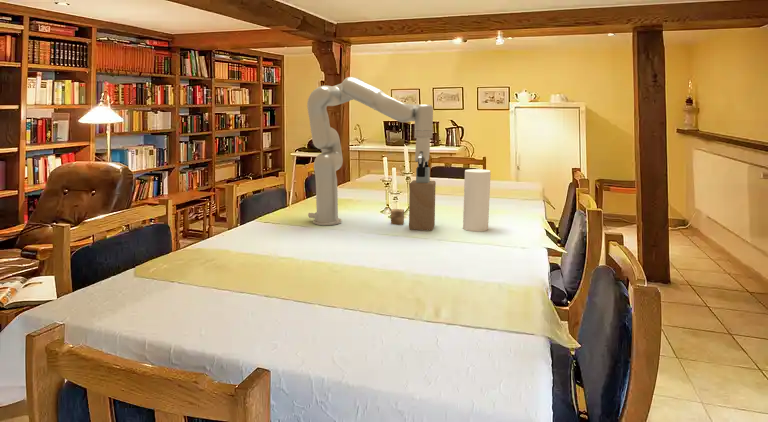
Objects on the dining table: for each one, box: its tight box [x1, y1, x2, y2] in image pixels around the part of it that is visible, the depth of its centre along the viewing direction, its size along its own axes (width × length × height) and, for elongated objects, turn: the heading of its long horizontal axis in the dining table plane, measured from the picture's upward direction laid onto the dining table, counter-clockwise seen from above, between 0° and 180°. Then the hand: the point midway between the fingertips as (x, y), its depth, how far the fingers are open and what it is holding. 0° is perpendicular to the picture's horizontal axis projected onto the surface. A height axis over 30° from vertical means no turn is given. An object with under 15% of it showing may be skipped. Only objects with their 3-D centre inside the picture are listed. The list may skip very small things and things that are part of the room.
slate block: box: [415, 166, 431, 183], centre depth 218 cm, size 5×5×6 cm
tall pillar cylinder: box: [462, 168, 492, 232], centre depth 219 cm, size 11×11×25 cm
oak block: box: [390, 208, 405, 226], centre depth 231 cm, size 5×5×6 cm
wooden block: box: [408, 179, 436, 232], centre depth 221 cm, size 10×10×20 cm
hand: (422, 175), depth 218 cm, fingers open, 9 cm apart
